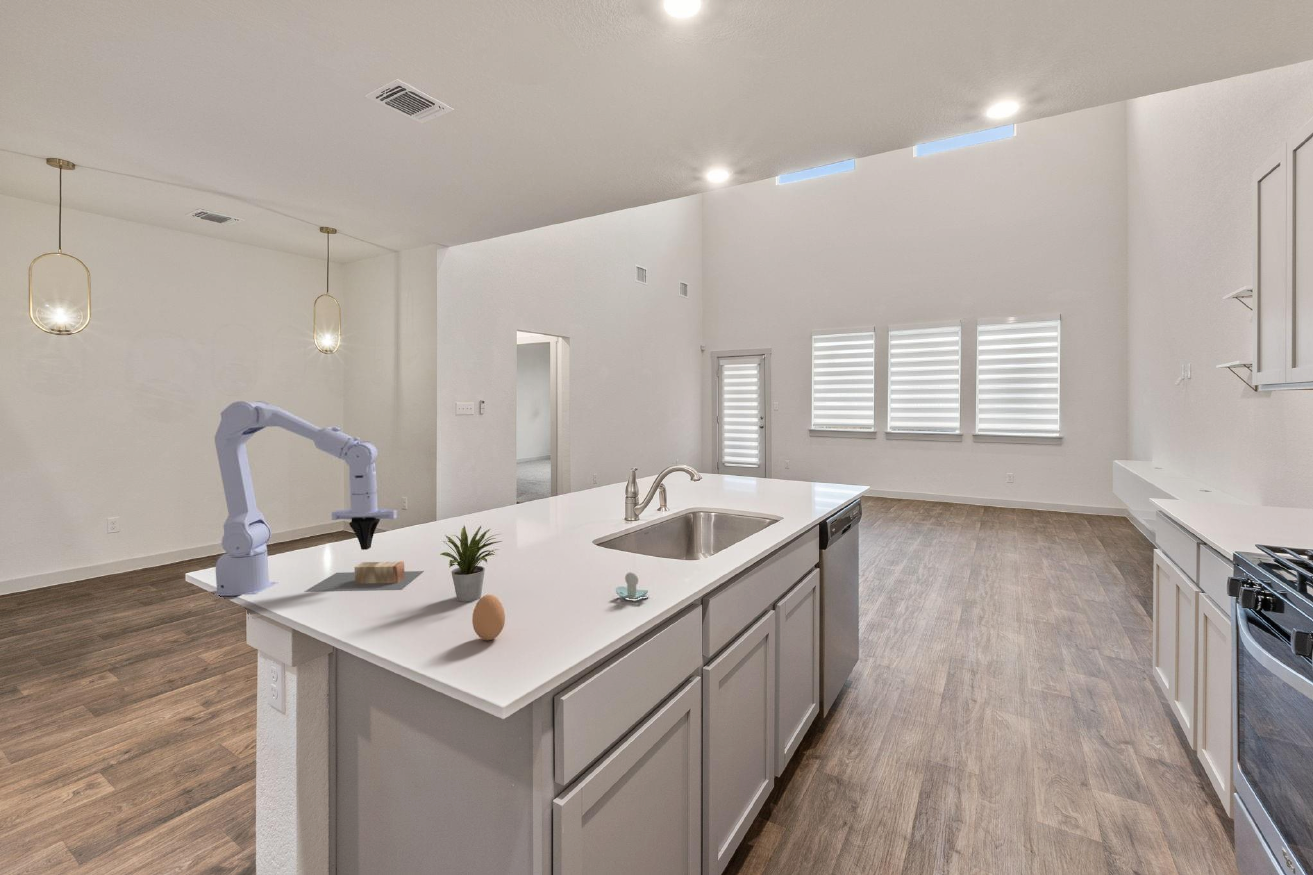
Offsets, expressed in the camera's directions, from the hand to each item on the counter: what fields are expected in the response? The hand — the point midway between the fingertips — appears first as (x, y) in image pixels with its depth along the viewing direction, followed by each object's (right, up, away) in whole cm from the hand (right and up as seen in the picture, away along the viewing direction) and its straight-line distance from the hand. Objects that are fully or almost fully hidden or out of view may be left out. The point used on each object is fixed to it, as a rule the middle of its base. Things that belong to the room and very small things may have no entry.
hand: (366, 548), depth 136 cm
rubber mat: (0, -8, +1) cm, 8 cm away
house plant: (+28, -9, -11) cm, 32 cm away
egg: (+39, -11, -32) cm, 52 cm away
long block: (-2, -6, 0) cm, 6 cm away
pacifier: (+65, -9, -11) cm, 67 cm away
